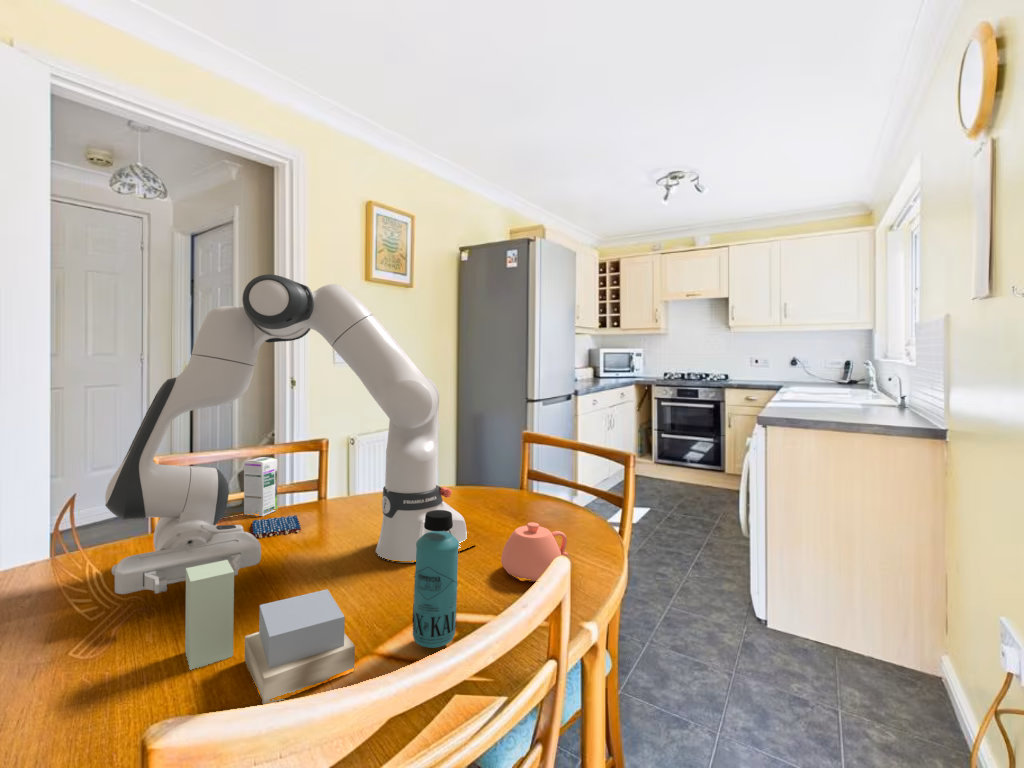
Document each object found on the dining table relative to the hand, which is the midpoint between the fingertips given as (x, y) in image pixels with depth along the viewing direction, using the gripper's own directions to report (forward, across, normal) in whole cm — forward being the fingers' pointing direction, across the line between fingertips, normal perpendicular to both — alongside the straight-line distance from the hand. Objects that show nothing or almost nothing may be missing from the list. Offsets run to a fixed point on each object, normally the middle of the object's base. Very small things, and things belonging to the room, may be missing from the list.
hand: (198, 579), depth 74 cm
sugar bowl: (+19, +55, +7) cm, 59 cm away
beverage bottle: (+28, +26, +7) cm, 39 cm away
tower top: (+21, +9, +3) cm, 23 cm away
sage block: (+11, 0, +6) cm, 13 cm away
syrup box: (-51, +20, +7) cm, 55 cm away
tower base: (+21, +9, +7) cm, 24 cm away
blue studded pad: (-36, +20, +7) cm, 42 cm away
